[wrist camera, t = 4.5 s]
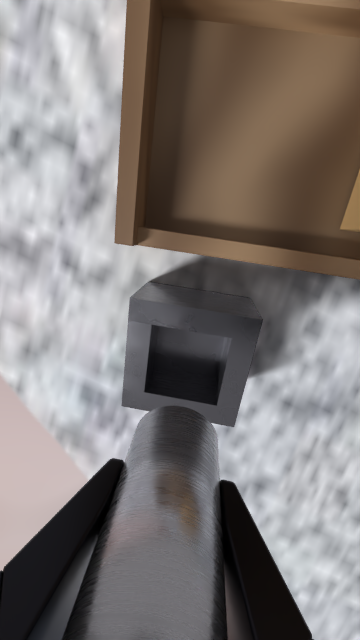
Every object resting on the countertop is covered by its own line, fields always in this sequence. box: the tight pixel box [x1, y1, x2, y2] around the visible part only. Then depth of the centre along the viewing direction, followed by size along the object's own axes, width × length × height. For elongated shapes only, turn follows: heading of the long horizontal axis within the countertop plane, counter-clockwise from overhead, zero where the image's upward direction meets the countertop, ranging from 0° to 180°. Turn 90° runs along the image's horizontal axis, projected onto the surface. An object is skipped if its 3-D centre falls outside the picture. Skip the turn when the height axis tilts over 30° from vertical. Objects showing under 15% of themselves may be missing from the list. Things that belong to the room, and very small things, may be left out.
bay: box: [115, 0, 360, 279], centre depth 13 cm, size 22×12×3 cm, turn 82°
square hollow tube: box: [122, 282, 263, 427], centre depth 17 cm, size 7×7×4 cm
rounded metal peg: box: [62, 406, 228, 640], centre depth 6 cm, size 3×3×7 cm
